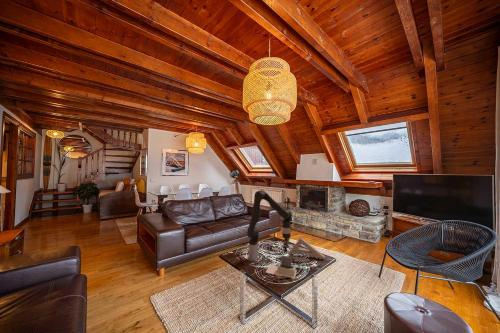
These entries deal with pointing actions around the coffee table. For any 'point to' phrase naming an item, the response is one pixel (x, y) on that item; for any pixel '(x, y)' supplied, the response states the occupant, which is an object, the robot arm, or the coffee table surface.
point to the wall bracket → (310, 250)
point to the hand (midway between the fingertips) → (286, 249)
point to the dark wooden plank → (286, 262)
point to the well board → (282, 271)
